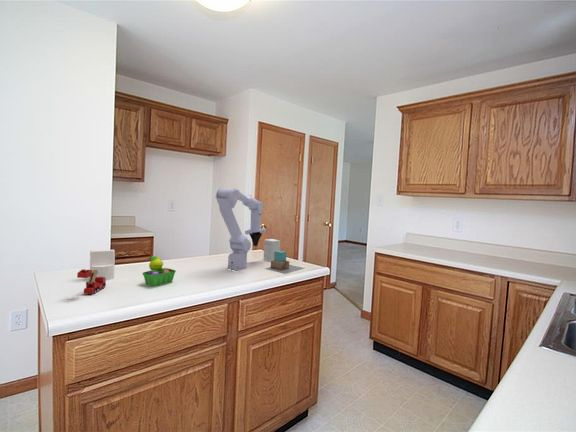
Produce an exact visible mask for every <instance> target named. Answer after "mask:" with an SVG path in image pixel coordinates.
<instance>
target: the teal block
mask: <svg viewBox="0 0 576 432" xmlns="http://www.w3.org/2000/svg"><path fill="white" fill-rule="evenodd" d="M286 260H287V251H285V250H280V251H275V253H274V261H277V262H284V261H286Z"/></svg>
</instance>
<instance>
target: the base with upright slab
mask: <svg viewBox="0 0 576 432" xmlns="http://www.w3.org/2000/svg"><path fill="white" fill-rule="evenodd" d="M89 253H90V254H89V270H97V271H98V274H97V276H96V277H105V279H106V281H110V280H113V279H115V267H116V265H115V264H116V263H115V260H116V257H115V256H116V254H115V253H116V251H115V249H93V250H90V251H89ZM94 282H95V280H94Z"/></svg>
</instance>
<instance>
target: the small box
mask: <svg viewBox="0 0 576 432" xmlns="http://www.w3.org/2000/svg"><path fill="white" fill-rule="evenodd" d="M275 251H281V240H278V239H275V238H268V239H267V238H266V239H264V243H263V260H264V261H266V262H270V263H271V261H272V260H274V253H275Z"/></svg>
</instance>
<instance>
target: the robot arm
mask: <svg viewBox="0 0 576 432" xmlns="http://www.w3.org/2000/svg"><path fill="white" fill-rule="evenodd" d="M215 193H216V194H215V199H216V202H217V204H218V209H219V213H220V214H221V217H222V219H223V221H224V224H225V226H226V228H227V230H228V232H229V234H230V238H229V239H228V242H229V247H230V249H231V251H232V252H231V253H229V255H228V260H227V267H226V269H227V270H231V271H235V272H238V270H241V269H242V270H243V269H246V268H247V264H248V263H247V261H248V253H249V251H250V250H251V247H252V246H254V247H258V244H259V243H260V242H259V241H260V238H261V237H262V235H263V233H266V230H267V229H266V228H264V227H262V214H263V209H264V204H263V203H264V202H262V201H261V200H257V198H255V197H252V195H251V194H248V195H245V194H244V193H242V192H241V191H240V190H239V189H237V188H228V187H227V188H224V187H219V188H218V189H217V191H216V192H215ZM238 201H240V202H242V205H243V206H245V207H247V208H248V209H249V211H250V229H247V230H245V231H244V234H245V235H244V234H243V233H242V231H241V228H240V226H239V223H238V220H237V219H236V217H235V214H234V212H233V209H234V208H235V206H236V204H237V202H238ZM246 235H249V236H250V238H251V241H252V243H251V241H250V240H249V238H248V237H247V236H246Z"/></svg>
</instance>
